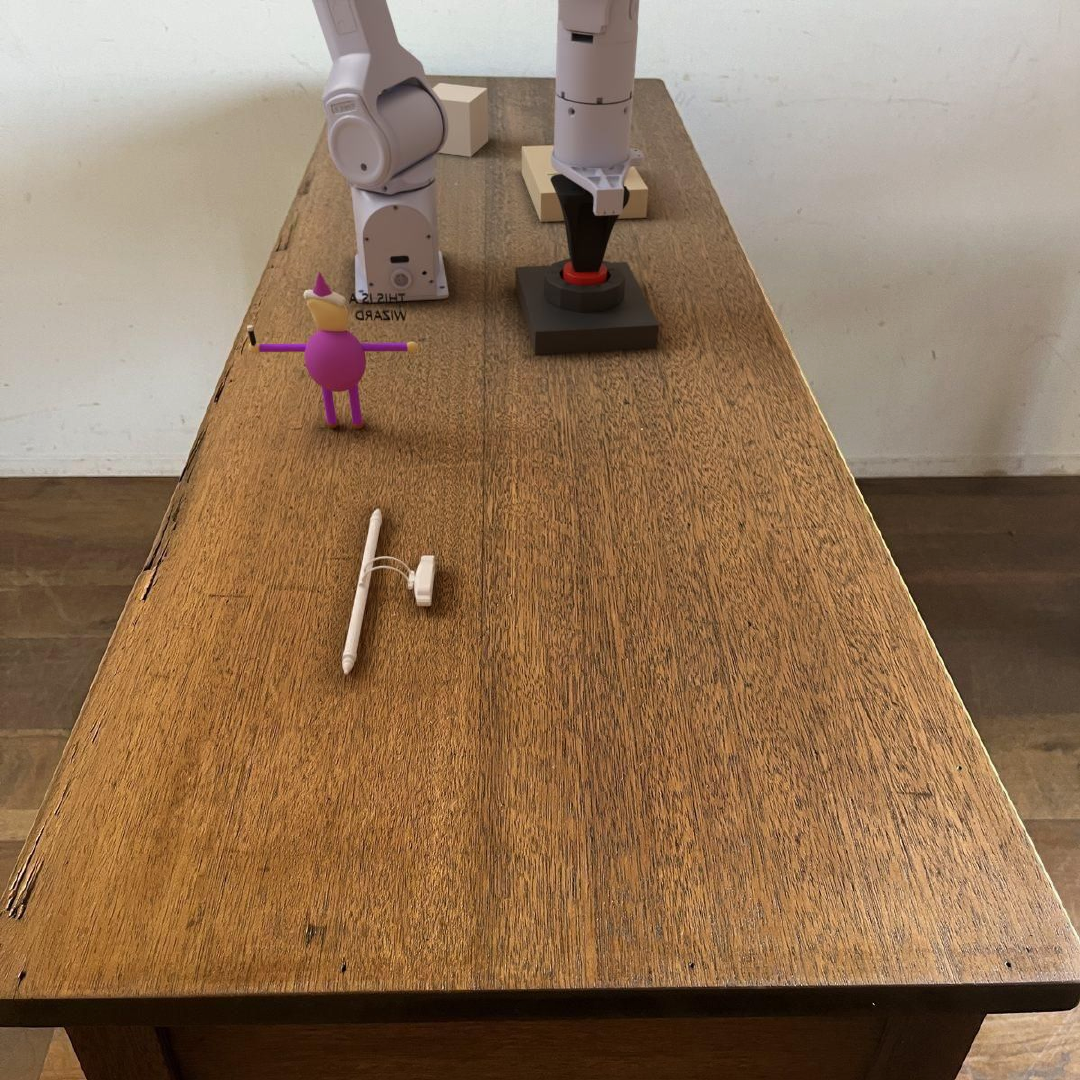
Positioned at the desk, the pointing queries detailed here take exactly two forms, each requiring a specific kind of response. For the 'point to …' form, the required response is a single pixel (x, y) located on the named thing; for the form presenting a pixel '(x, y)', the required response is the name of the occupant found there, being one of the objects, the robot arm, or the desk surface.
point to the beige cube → (464, 118)
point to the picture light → (420, 582)
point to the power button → (584, 276)
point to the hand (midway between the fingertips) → (585, 268)
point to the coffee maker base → (584, 311)
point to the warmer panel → (546, 199)
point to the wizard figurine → (336, 347)
